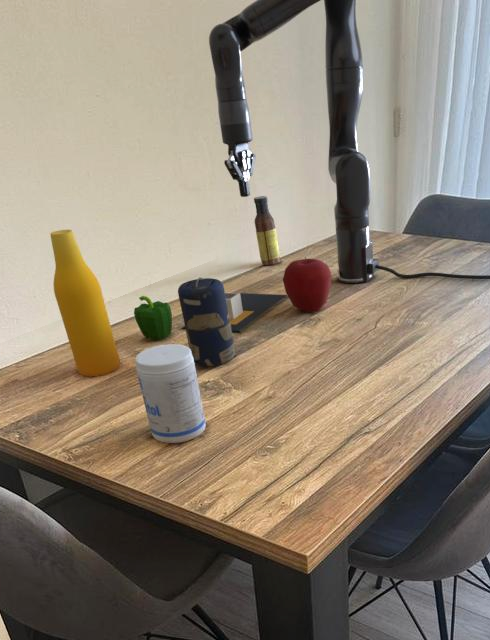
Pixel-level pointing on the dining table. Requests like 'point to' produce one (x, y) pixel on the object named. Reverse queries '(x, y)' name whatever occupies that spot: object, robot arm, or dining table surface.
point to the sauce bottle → (266, 233)
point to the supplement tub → (171, 393)
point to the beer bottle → (82, 309)
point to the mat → (253, 308)
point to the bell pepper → (154, 319)
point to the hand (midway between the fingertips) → (245, 196)
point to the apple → (307, 284)
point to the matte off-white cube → (234, 304)
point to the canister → (207, 321)
